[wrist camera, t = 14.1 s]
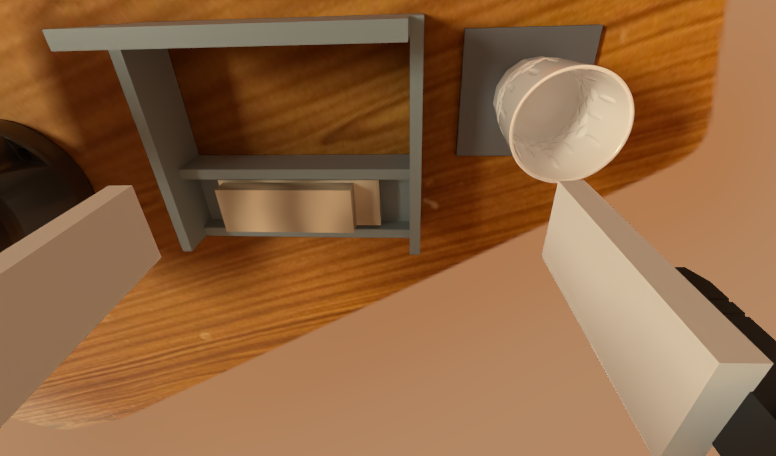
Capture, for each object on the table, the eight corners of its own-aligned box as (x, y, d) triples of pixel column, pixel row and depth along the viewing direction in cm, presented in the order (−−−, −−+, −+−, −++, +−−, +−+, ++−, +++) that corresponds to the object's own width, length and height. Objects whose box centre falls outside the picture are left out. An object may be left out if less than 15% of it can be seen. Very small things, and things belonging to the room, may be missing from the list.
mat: (456, 154, 37) (456, 155, 37) (464, 28, 32) (465, 28, 31) (570, 153, 36) (572, 155, 36) (600, 24, 31) (603, 24, 30)
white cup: (584, 121, 34) (640, 160, 26) (498, 152, 36) (524, 198, 28) (569, 32, 31) (628, 42, 22) (475, 71, 33) (496, 95, 24)
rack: (210, 221, 43) (146, 289, 33) (148, 22, 33) (26, 30, 23) (419, 223, 41) (420, 295, 31) (423, 13, 31) (426, 17, 21)
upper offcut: (234, 222, 39) (226, 231, 38) (223, 182, 37) (214, 190, 36) (356, 223, 39) (354, 232, 37) (353, 182, 36) (350, 190, 35)
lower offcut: (236, 215, 41) (229, 223, 40) (225, 173, 39) (217, 180, 37) (382, 216, 40) (380, 225, 38) (380, 172, 37) (378, 180, 36)
